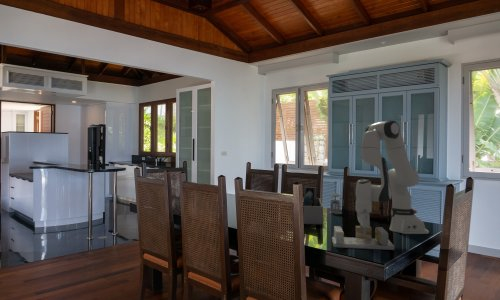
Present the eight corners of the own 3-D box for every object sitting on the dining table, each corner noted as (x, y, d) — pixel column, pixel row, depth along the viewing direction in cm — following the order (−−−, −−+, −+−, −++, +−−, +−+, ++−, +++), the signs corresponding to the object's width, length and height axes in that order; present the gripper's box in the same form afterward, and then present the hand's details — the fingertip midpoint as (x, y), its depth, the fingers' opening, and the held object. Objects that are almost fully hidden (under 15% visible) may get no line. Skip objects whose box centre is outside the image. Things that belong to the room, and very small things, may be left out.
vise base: (387, 242, 197) (388, 228, 197) (394, 249, 183) (394, 234, 183) (331, 240, 201) (332, 226, 201) (334, 247, 187) (334, 231, 187)
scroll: (363, 219, 259) (363, 191, 259) (365, 215, 273) (365, 189, 273) (385, 221, 253) (385, 193, 253) (386, 217, 267) (386, 190, 267)
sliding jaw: (382, 238, 197) (382, 227, 197) (388, 245, 183) (388, 233, 183) (374, 237, 198) (374, 227, 198) (380, 244, 184) (380, 233, 184)
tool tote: (320, 213, 282) (320, 198, 282) (322, 224, 242) (322, 206, 242) (302, 212, 284) (302, 197, 284) (301, 223, 244) (301, 206, 244)
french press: (332, 211, 292) (332, 180, 292) (346, 212, 285) (346, 181, 285) (326, 212, 285) (327, 181, 284) (340, 214, 277) (340, 182, 277)
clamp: (313, 224, 245) (313, 192, 245) (300, 223, 247) (300, 192, 247) (315, 214, 279) (316, 187, 279) (304, 214, 282) (304, 186, 281)
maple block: (355, 237, 207) (355, 225, 207) (370, 238, 206) (370, 226, 206) (356, 239, 203) (356, 227, 203) (371, 240, 202) (371, 227, 202)
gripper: (372, 211, 194) (372, 237, 194) (366, 205, 214) (366, 228, 214) (360, 211, 195) (360, 236, 195) (355, 205, 215) (355, 228, 215)
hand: (363, 232), depth 204 cm, fingers open, 5 cm apart
